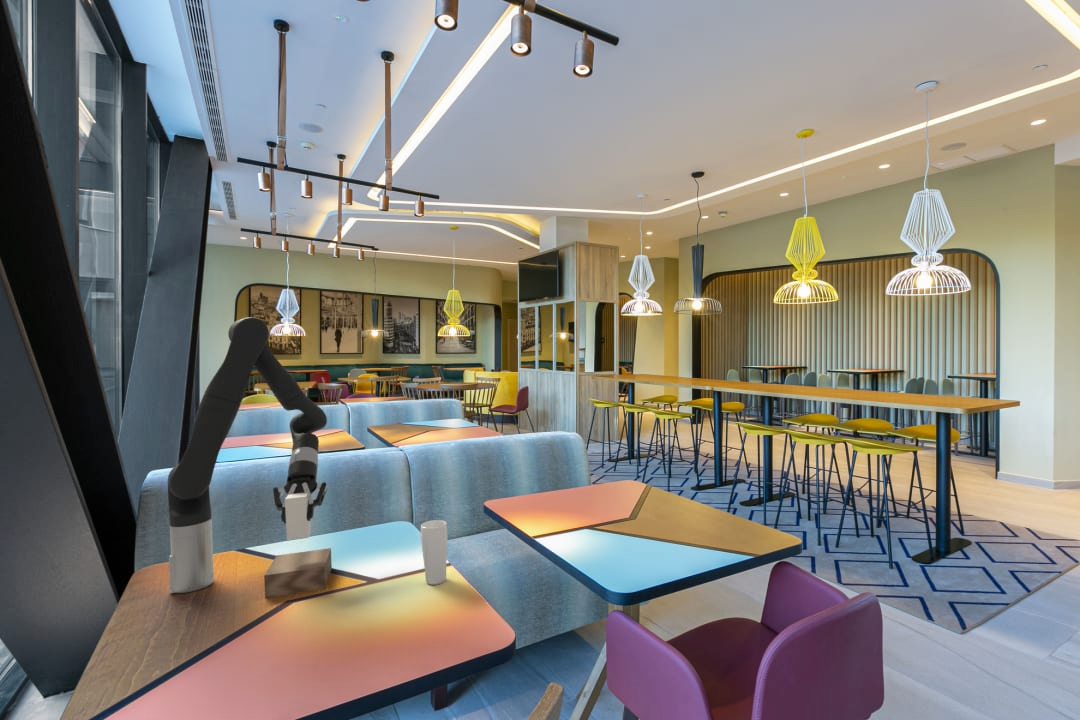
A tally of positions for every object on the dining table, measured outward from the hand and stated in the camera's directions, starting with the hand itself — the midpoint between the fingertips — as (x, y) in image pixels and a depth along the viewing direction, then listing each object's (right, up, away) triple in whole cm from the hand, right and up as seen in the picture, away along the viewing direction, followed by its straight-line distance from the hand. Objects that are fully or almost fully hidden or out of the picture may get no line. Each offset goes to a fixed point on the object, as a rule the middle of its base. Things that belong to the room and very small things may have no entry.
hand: (297, 520), depth 132 cm
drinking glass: (+37, -16, -2) cm, 40 cm away
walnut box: (0, -17, +2) cm, 17 cm away
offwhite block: (0, -5, +2) cm, 5 cm away
